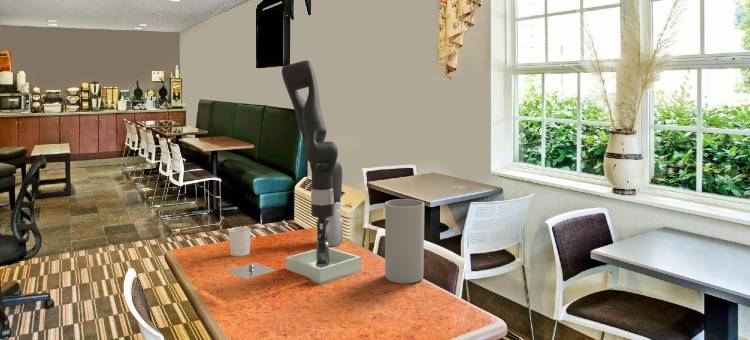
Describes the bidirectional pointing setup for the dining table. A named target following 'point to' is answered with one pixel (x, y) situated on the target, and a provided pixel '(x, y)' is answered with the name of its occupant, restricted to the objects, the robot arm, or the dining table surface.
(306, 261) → the sage bin
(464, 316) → the dining table surface
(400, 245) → the cylinder vase
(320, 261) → the dark grey stamp
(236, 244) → the white cup
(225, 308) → the dining table surface
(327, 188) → the robot arm
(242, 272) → the stud plate
